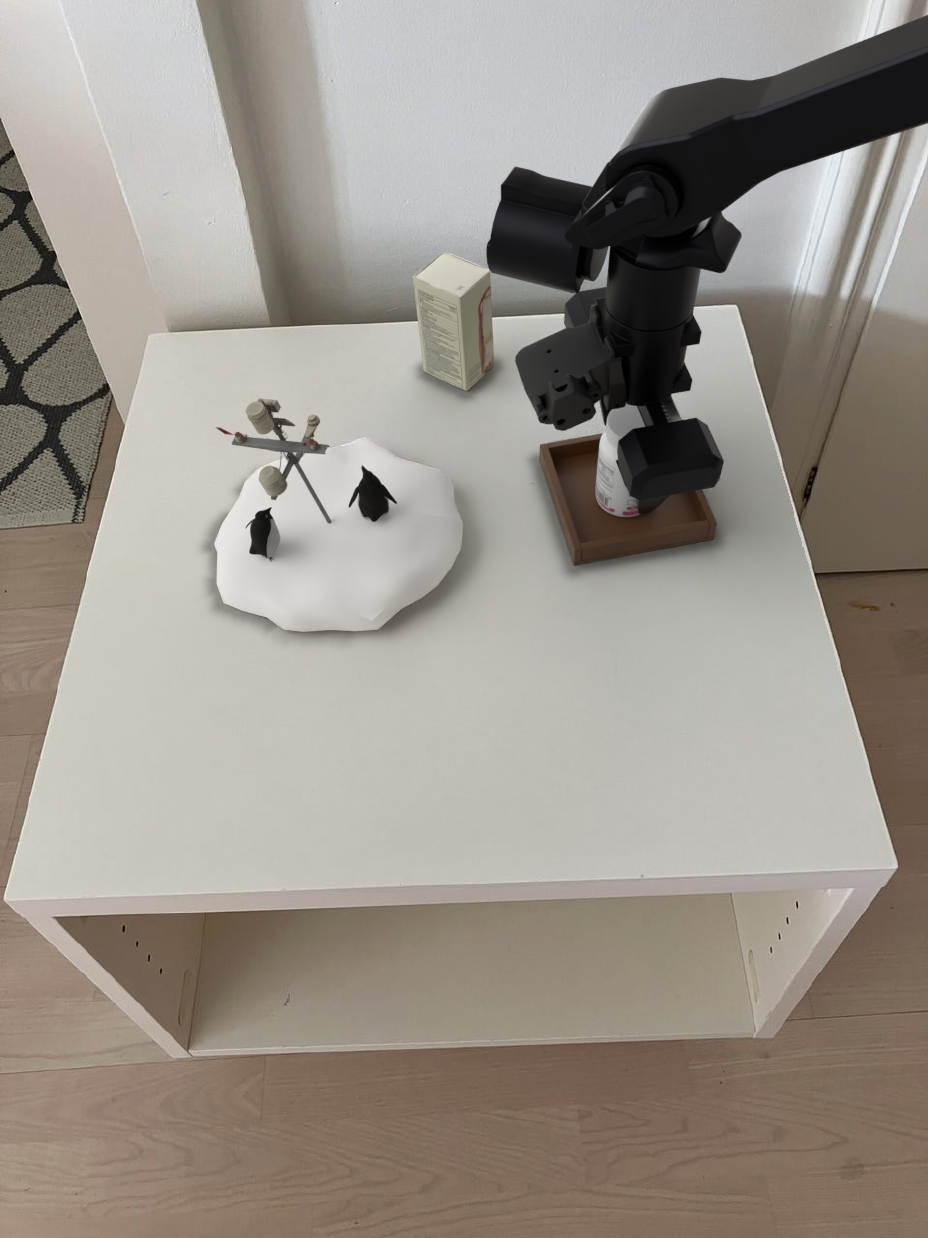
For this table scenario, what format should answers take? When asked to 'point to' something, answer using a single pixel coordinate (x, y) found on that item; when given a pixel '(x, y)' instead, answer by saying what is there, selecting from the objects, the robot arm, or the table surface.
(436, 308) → the medicine box
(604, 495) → the pill bottle
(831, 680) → the table surface
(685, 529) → the tray
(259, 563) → the figurine
